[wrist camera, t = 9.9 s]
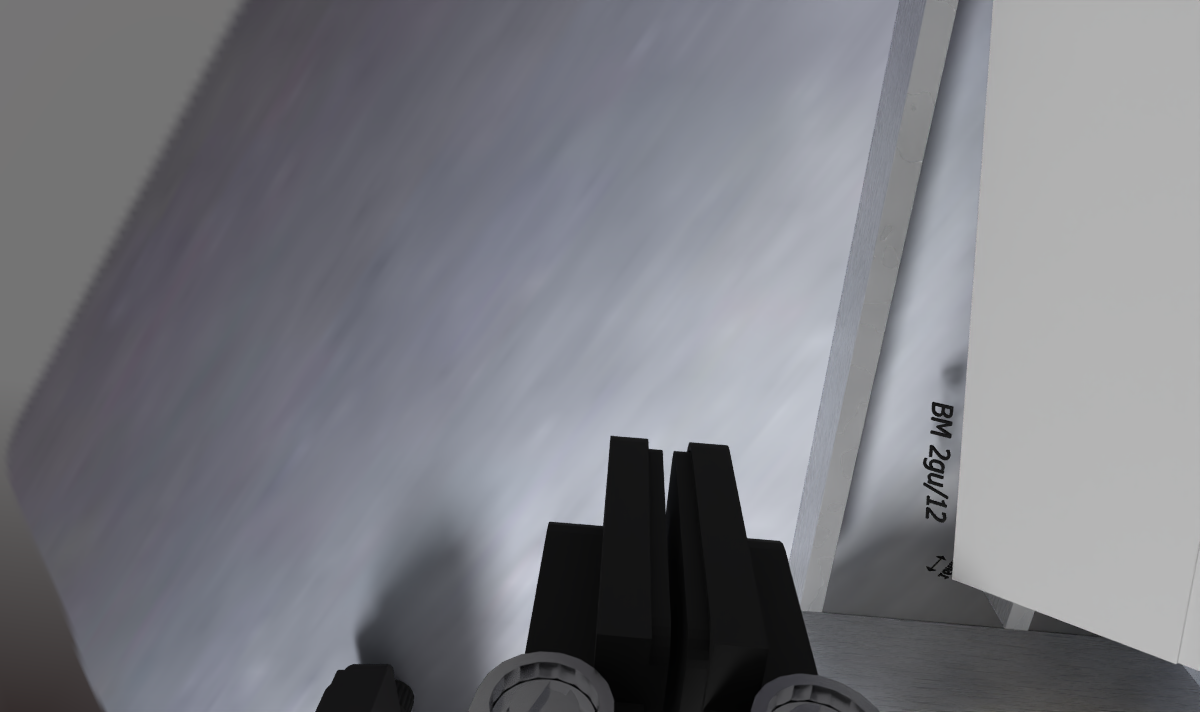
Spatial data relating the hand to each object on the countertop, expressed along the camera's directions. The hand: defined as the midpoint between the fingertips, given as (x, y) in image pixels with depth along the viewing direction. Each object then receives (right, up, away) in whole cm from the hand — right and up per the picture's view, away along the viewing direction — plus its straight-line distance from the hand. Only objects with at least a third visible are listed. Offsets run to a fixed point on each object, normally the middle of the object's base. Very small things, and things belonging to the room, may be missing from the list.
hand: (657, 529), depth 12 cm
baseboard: (+13, +8, +21) cm, 26 cm away
